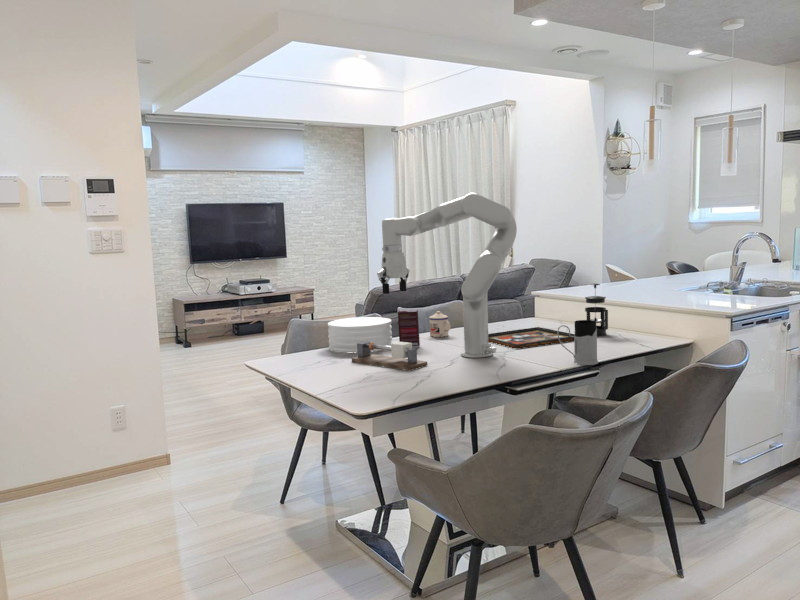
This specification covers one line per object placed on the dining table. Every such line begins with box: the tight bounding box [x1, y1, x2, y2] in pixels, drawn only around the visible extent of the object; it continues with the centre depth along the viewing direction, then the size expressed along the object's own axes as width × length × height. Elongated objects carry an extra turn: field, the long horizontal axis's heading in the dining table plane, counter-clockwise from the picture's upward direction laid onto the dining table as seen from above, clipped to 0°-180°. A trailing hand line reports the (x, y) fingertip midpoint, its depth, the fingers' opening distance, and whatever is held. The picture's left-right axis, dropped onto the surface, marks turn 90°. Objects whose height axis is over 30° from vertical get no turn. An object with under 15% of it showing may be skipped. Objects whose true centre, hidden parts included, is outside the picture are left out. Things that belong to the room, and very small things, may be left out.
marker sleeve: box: [390, 341, 412, 359], centre depth 236 cm, size 6×5×5 cm
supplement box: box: [397, 309, 421, 349], centre depth 273 cm, size 9×5×16 cm, turn 84°
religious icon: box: [488, 326, 575, 349], centre depth 280 cm, size 38×35×3 cm
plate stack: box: [327, 316, 393, 354], centre depth 279 cm, size 28×28×12 cm
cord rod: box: [356, 342, 418, 364], centre depth 241 cm, size 28×4×6 cm, turn 49°
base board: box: [351, 353, 428, 371], centre depth 241 cm, size 30×10×2 cm, turn 49°
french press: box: [584, 283, 609, 337], centre depth 283 cm, size 12×9×23 cm
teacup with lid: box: [428, 310, 451, 338], centre depth 298 cm, size 12×9×12 cm
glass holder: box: [556, 319, 599, 366], centre depth 229 cm, size 9×14×15 cm, turn 79°
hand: (394, 292), depth 253 cm, fingers open, 9 cm apart
